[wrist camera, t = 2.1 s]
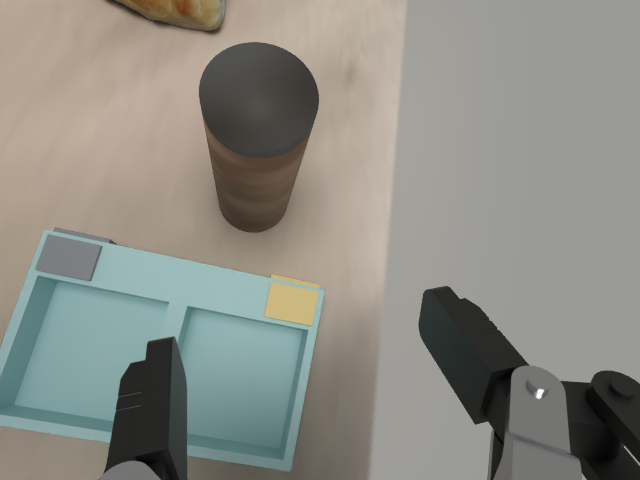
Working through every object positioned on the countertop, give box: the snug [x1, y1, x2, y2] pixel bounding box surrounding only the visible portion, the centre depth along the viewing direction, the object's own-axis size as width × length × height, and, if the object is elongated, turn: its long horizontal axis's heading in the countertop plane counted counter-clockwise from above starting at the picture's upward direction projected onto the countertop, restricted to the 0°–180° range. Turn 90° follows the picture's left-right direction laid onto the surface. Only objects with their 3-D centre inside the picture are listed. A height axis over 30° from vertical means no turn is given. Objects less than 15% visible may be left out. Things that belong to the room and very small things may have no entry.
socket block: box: [0, 227, 325, 472], centre depth 24 cm, size 16×10×3 cm, turn 79°
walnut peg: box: [199, 42, 319, 232], centre depth 23 cm, size 5×5×13 cm
